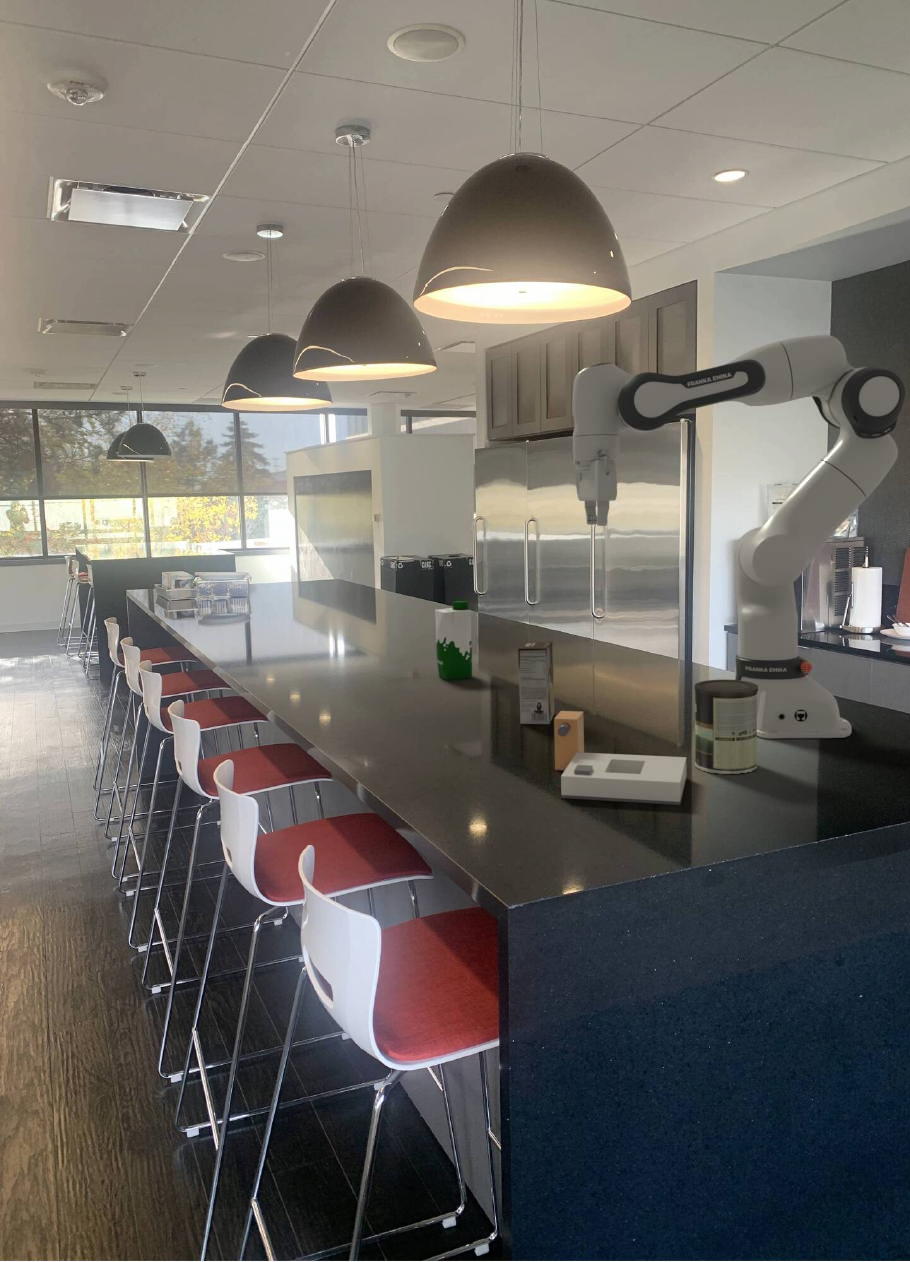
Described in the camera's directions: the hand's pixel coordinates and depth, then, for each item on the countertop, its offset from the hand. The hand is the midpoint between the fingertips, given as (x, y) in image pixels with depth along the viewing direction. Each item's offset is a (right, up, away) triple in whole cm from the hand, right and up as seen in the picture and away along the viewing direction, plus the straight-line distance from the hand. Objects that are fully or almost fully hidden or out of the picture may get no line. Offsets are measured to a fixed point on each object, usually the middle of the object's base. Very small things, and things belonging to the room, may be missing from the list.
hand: (596, 525), depth 181 cm
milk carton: (-27, -33, +69) cm, 81 cm away
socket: (0, -45, -31) cm, 55 cm away
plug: (-8, -44, -18) cm, 48 cm away
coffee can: (+19, -44, -21) cm, 52 cm away
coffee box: (-10, -39, +18) cm, 44 cm away
